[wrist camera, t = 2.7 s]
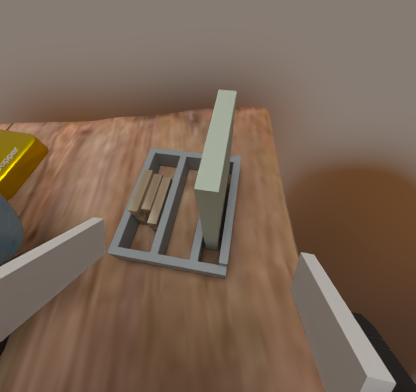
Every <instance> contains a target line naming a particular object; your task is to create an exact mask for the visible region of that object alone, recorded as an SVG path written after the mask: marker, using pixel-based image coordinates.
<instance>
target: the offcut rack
mask: <svg viewBox="0 0 416 392" xmlns="http://www.w3.org/2000/svg"><path fill="white" fill-rule="evenodd" d="M202 155H203V154H202V153H194V152H185V151H177V150H168V149H159V148H151V149H150V152H149V154H148V157H147V159H146V161H145V164H144V166H143V169H142V171H141V173H140V176H139V178H138V181H137V183H136V185H135V188H134V190H133V193H132V195H131V197H130V200H129V202H128V205H127V207H126V209H125V212H124V214H123V217H122V219H121V221H120V224H119V226H118V229H117V231H116V233H115V236H114V238H113V241H112V243H111V245H110V248H109V250H108V254H110V255H112V256H114V257H117V258H119V259H124V260H129V261H135V262H140V263H145V264H150V265H156V266H161V267H166V268H171V269H177V270H182V271H187V272H192V273H198V274H203V275H208V276H213V277H219V278H224V279H225V276H226V270H227V265H228V257H229V249H230V242H231V234H232V226H233V218H234V211H235V203H236V195H237V187H238V180H239V172H240V164H241V156H238V155H235V157H230V167H229V174H232V177H231V184H230V191H229V197H228V204H227V211H226V217H225V224H224V231H223V237H222V244H221V251H220V257H219V265H215V264H209V263H204V262H200V261H201V256H202V251H203V246H204V237H203V232H202V227H201V222H200V217H199V219H198V223H197V228H196V232H195V237H194V241H193V246H192V251H191V255H190V260H188V259H182V258H177V257H171V256H166V255H165V253H166V250H167V246H168V243H169V239H170V236H171V232H172V228H173V225H174V221H175V218H176V214H177V210H178V207H179V203H180V200H181V196H182V192H183V189H184V185H185V182H186V178H187V175H188V171H189V169H194V170H199V167H200V163H201V159H202ZM160 165H162V166H170V167H177V169H176V172H175V175H174V178H173V181H172V184H171V188H170V191H169V194H168V197H167V200H166V203H165V207H164V210H163V213H162V216H161V219H160V222H159V226H158V229H157V232H156V235H155V238H154V241H153V244H152V248H151V251H150V253H149V252H144V251H138V250H133V249H130V246H131V243H132V241H133V238H134V235H135V232H136V230H137V227H138V224H139V221H138V220H137V219H136V218H135V217H134V216H133V215H132V214H131V213H130V212H129V211H128V209H129V206H130V204H131V201H132V199H133V196H134V194H135V192H136V189H137V187H138V184H139V182H140V179H141V177H142V175H143V172H144V170H145V169H147V170H153V172H154V174H157V173H158V170H159V167H160Z"/></svg>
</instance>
